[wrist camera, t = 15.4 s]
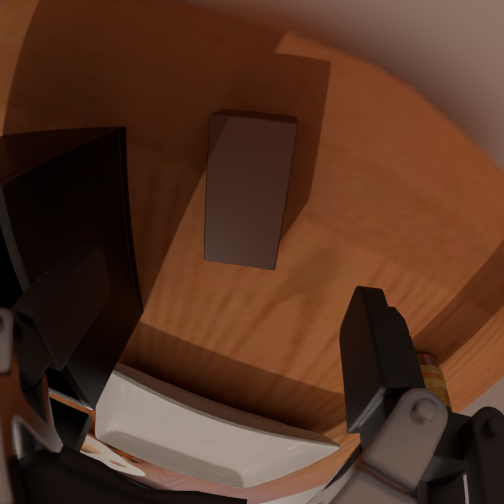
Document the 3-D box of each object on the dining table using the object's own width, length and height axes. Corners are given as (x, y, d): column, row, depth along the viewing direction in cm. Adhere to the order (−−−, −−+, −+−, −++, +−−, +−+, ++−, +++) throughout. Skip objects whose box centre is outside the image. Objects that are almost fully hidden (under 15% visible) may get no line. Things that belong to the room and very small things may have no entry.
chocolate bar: (221, 109, 15) (209, 114, 13) (296, 117, 15) (297, 123, 13) (213, 238, 19) (203, 260, 17) (276, 247, 19) (274, 270, 17)
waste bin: (1, 136, 16) (-93, 185, 8) (126, 126, 16) (1, 186, 7) (35, 283, 24) (-22, 352, 16) (143, 311, 24) (94, 411, 15)
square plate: (344, 421, 30) (345, 450, 27) (247, 473, 44) (244, 491, 41) (109, 337, 26) (92, 367, 23) (101, 422, 41) (93, 440, 37)
